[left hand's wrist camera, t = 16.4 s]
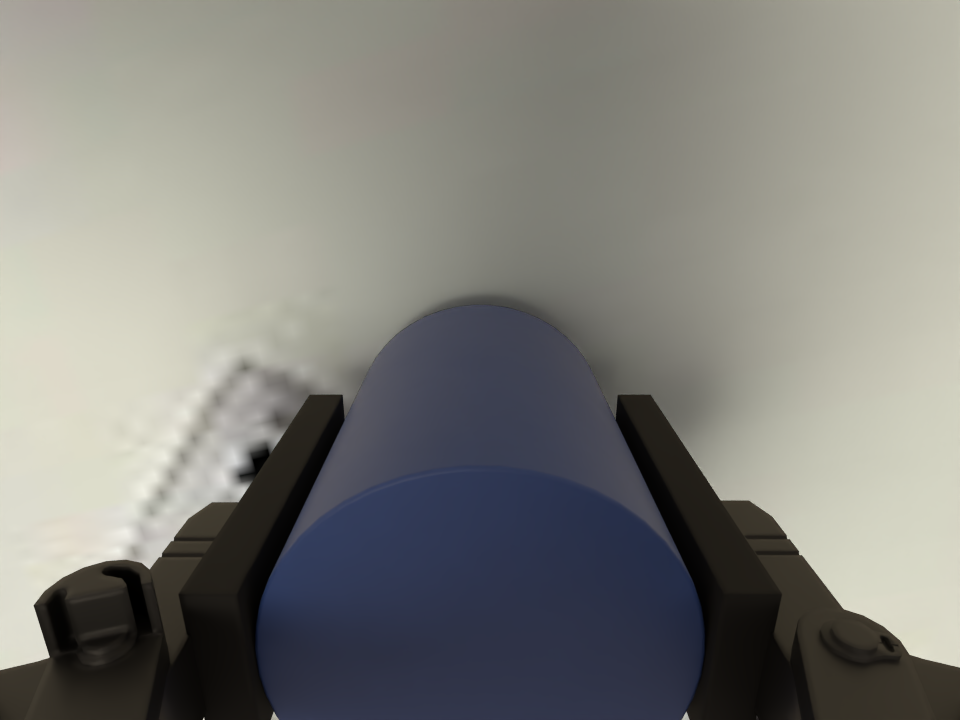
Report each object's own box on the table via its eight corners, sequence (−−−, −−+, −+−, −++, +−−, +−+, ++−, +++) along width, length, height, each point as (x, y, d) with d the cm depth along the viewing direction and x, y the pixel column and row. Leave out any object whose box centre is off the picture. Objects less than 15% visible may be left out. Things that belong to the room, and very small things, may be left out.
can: (307, 409, 16) (158, 645, 8) (494, 250, 14) (509, 367, 7) (468, 562, 17) (459, 871, 10) (649, 433, 16) (793, 683, 9)
